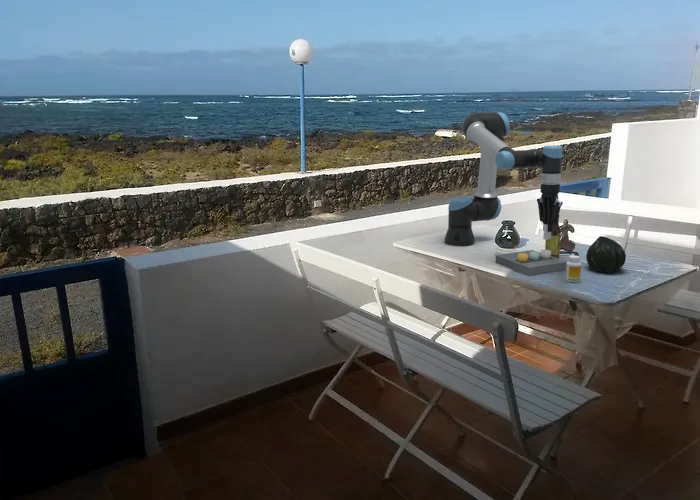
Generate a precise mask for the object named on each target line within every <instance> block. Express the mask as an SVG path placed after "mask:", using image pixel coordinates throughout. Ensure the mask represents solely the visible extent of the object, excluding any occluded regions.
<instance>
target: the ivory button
mask: <svg viewBox="0 0 700 500" xmlns="http://www.w3.org/2000/svg"><path fill="white" fill-rule="evenodd" d="M540 253H541V256H540V258H541V259H544V260H547V259H550V256H551V251H550V250H545V249H540Z"/></svg>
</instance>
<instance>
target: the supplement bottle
mask: <svg viewBox="0 0 700 500" xmlns="http://www.w3.org/2000/svg"><path fill="white" fill-rule="evenodd" d="M580 260H581V257H580V256H579V255H572V254H571V255H569V256H568V260H567V261H568V262H567V263H566V270H565V276H564V278H565V279H564V280H565V281H566V282H569V283H578V282H581V274H582V273H581V272H582V263H581V262H580Z"/></svg>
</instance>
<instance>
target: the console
mask: <svg viewBox="0 0 700 500" xmlns="http://www.w3.org/2000/svg"><path fill="white" fill-rule="evenodd" d="M530 251H535V250H534V249H529V250H522V251H515V252H508V253H502V254H501V253H500V254H496V255H495V258H494V259H495V261H494V262H495V264H497V265H500V266H502V265H503V267H505V268H508V269H510V270H513V271H516V272H518V273H521V274H522V275H526V276H528V277H531V276H537V275H543V274H549V273H555V272H561V271H566V263H567V262H568V261H569V260H564V259H561V258H560V257H559V258H556V257H552V256H550V259H547V260H544V259H541V258H540V256H541V252H540V254H539V261H534V262H533V261H531V260H529V254H530ZM518 253H527V254H528V262H527V263H520V262H518Z"/></svg>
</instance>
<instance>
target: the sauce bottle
mask: <svg viewBox="0 0 700 500" xmlns="http://www.w3.org/2000/svg"><path fill="white" fill-rule="evenodd" d="M559 219H560V215H559V216H558V220H557V223H555V224H553V226H552V232H551V239H547V240H545V246H544V247H545V248H544V250H550V251H551V256H552V257H556V258H559V259H560V251H561V237H562V231H561V228H560V223H559V221H560V220H559Z"/></svg>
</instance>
